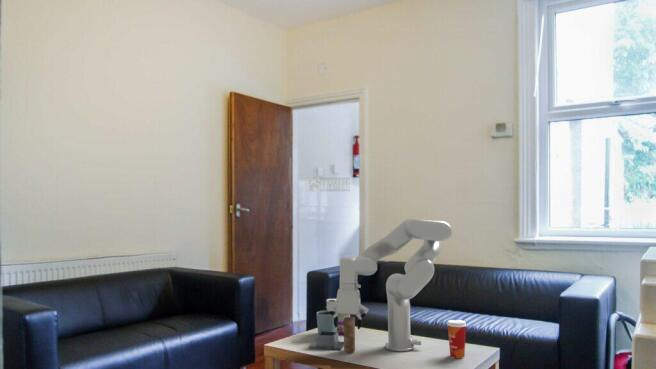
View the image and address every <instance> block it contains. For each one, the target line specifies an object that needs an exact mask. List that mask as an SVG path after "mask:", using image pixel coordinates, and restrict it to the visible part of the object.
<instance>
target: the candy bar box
mask: <svg viewBox="0 0 656 369" xmlns="http://www.w3.org/2000/svg"><path fill="white" fill-rule="evenodd" d="M336 299H337V298H327V299H326V300H325V308H326V309H325V311H329V309H328V306H330V305H332V304H334V303H336ZM332 310H333V311H336V306H335V307H333V308H332ZM345 317H351V315H350V314H338V327H337V332H338V336H340V335H342V336H344V318H345Z"/></svg>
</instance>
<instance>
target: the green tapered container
mask: <svg viewBox="0 0 656 369" xmlns="http://www.w3.org/2000/svg"><path fill="white" fill-rule="evenodd" d="M334 312H335V313H336V311H334ZM337 316H338V315H337ZM316 323H317V324H316V325H317V334H318V333H319V332H320V331H331V332H337V327H336V328H335V325H334V318H333V316H332V315H331V314H330V311H326V310H320V311H319V310H318V311H317V312H316Z"/></svg>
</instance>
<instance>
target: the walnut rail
mask: <svg viewBox="0 0 656 369" xmlns="http://www.w3.org/2000/svg"><path fill="white" fill-rule="evenodd" d="M355 325H356V319H355V317H354V316H350V317H345V318H344V335H343V342H344V347H343V354H354V353H355V351H356V328H355V327H356V326H355Z"/></svg>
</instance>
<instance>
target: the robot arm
mask: <svg viewBox="0 0 656 369" xmlns="http://www.w3.org/2000/svg"><path fill="white" fill-rule="evenodd" d="M452 234H453V228H452V226H451V225H450V224H449V223H448V222H446V221H444V220H443V221H441V220H430V219H429V220H427V219H421V218H408V219H405V220H403V221H402V222H401V223H400V224H399V225H398V226H396V227H395V228H394V229H392V230H391V231H390V232H389V233H388V234H387V235H386V236H384V237H383V238H380V239H378V240H377V241H376V242H375V243H372V244H371V245H369V246H368V247H367V248H366V249H364V250H363V251H362V252H361V253H360V254H358V255H357V256H356V257H353V256H352V257H351V256H344V257H341V258H340V261H339V288H338V290H337V294H336V298H335V299H336V303H334V304H332V305H330V306H328V309H329V311H330V314H331V315H332V316H333V318H334V325H335V328H336V327H338V316H337V315H338V314H350V316H352V315H353V316H354V315H355V316H356V317H357V318H358V319H357V330H360V329H361V328H362V325H363V322H362V321H363V318H364V317H366V315H367V313H368V312H369V307H366V305H365V306H364V305H363V304H361V293H360V290H359V288H360V289H361V287H362V286H361V284H359V282H358V275H361V276H371V275H374V274H375V273H376V272H377V270H378V264H377V262H378V261H379V260H381V259H384V258H386V257H390V256H392V255H395V254H397V253H399V251H400V250H402V249H403V248H404V247H405V246H406V245H408V244H409V243H410V242H412V241H413V240H414V239H416V240H423V243H422V245H421V246H420V248H418V250H417V251H416V252H415V253H414V254H413V255H412V256H410V257H409V259H408V260H407V261H406V263H405V264H404V271H405V274H402V273H398V272H397V273H393V274H391V275H389V277H388V278H387V280H386V283H385V290H386V298H387V330H388V332H387V338H388V339H387V340H388V341H387V342H385V344H384V348H385V349H386V350H388V351H392V352H409V351H413V350H414V349H415V345H416V346H422V340H420V339H418V338H417V339H414V338H412V335H411V303H410V302H411V301H410V300H411V299H413V298H414V297H415V296H416V295H418V294H419V293H420V291H422V289H423V288H424V287H425V286H426V285H427V284H428V283H429V282H430V281H431V280H432V278H433V276H434V275H435V265H434V263H435V261H436V260H437V259H438V258H439V256H440V255H441V252H442V244H443V243H442V242H445V241H447V240H449V239H450V238H451V236H452ZM335 306H336V313H335V312H334V311H333V310H332V308H333V307H335ZM361 310H363V313H362V314H361Z"/></svg>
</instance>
